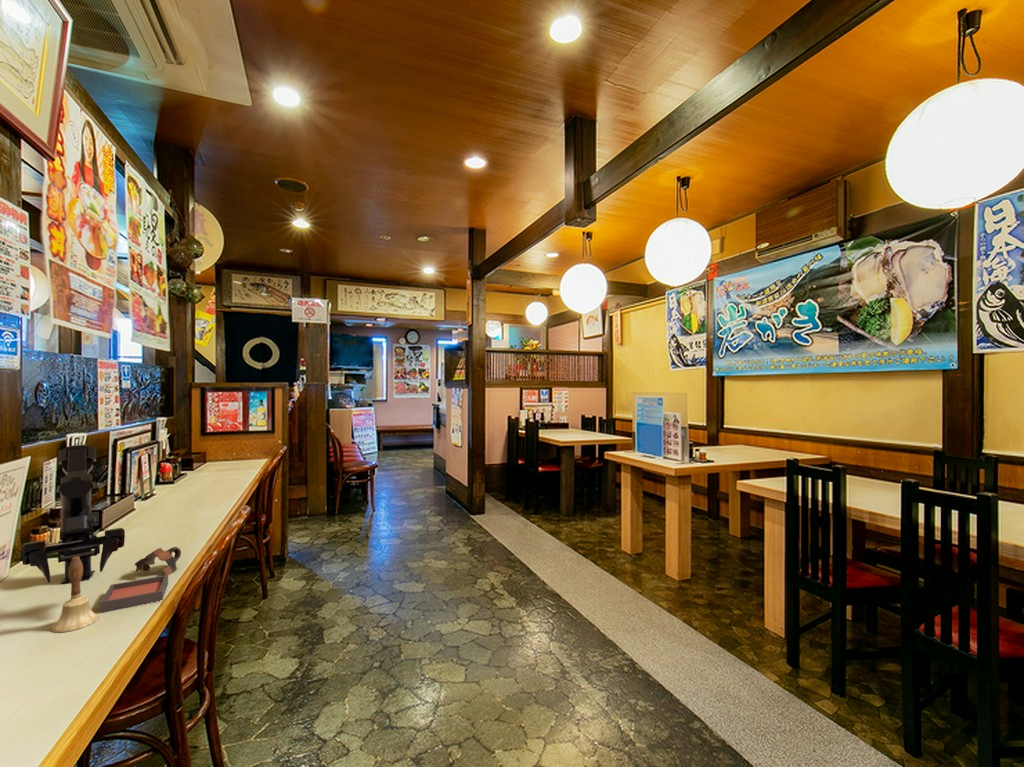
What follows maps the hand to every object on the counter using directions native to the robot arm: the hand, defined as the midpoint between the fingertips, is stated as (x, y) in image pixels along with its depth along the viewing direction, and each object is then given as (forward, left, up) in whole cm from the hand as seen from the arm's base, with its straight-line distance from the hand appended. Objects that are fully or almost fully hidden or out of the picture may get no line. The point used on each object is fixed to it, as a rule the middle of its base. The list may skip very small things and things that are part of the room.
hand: (75, 576), depth 113 cm
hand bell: (+2, 0, -11) cm, 11 cm away
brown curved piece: (-27, +14, -11) cm, 32 cm away
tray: (-8, +10, -11) cm, 17 cm away
